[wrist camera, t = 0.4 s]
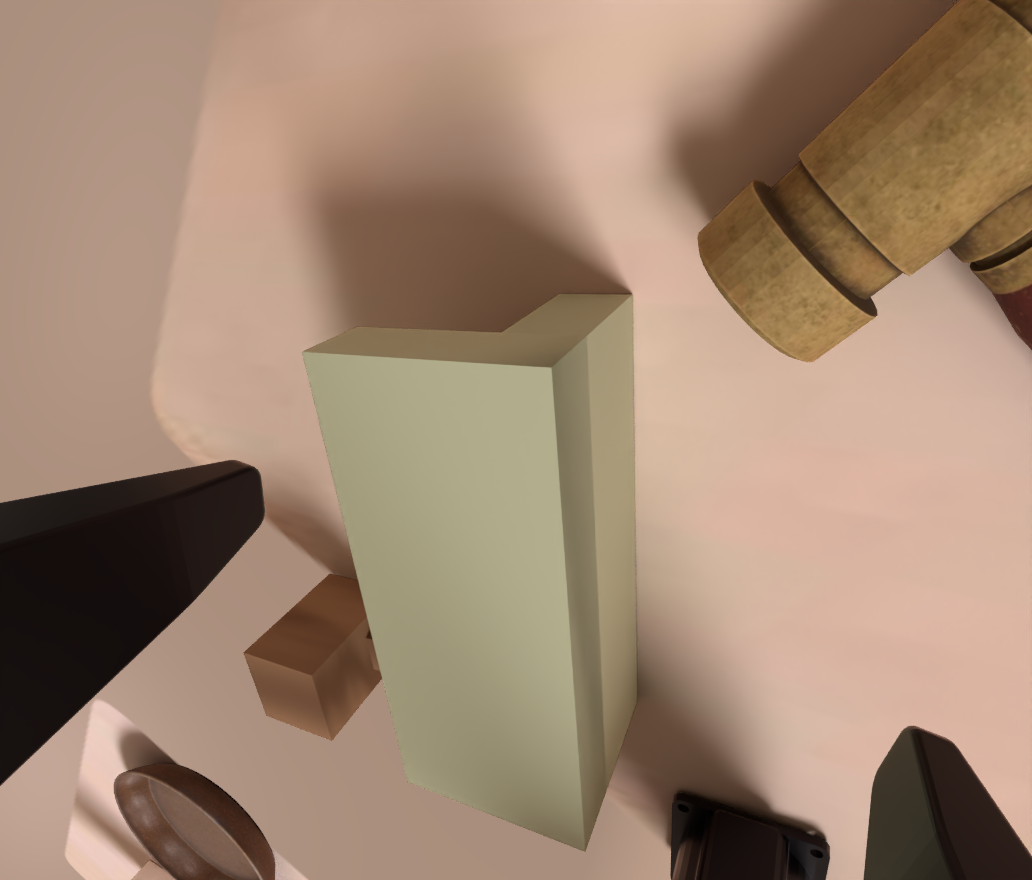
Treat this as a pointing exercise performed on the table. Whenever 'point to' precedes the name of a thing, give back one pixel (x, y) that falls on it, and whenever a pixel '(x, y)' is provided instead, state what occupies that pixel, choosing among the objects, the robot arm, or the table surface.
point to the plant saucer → (192, 825)
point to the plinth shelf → (496, 548)
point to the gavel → (894, 190)
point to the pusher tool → (317, 659)
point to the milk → (152, 873)
